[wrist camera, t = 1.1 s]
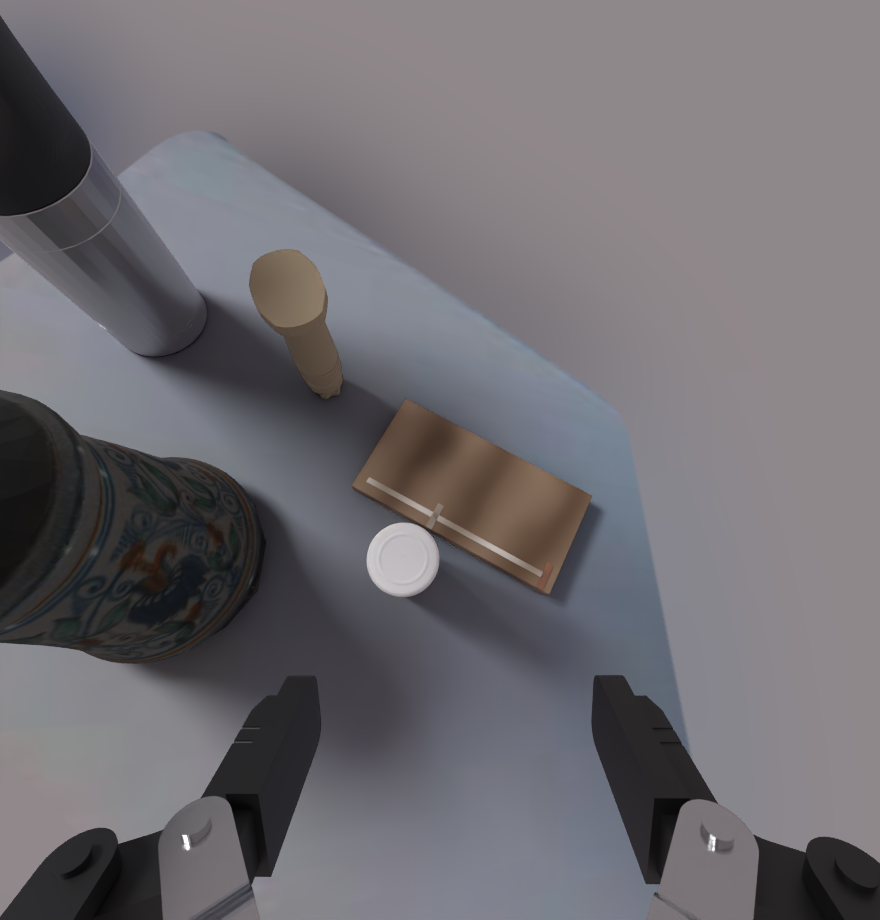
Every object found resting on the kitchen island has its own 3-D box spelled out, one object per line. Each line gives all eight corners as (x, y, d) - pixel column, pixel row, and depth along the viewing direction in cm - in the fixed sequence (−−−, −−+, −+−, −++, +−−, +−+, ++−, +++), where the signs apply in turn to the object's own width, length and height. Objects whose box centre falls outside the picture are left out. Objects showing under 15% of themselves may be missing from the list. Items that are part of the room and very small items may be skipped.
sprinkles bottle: (441, 572, 40) (455, 562, 27) (403, 606, 38) (398, 614, 26) (409, 533, 40) (407, 506, 28) (370, 566, 39) (350, 554, 26)
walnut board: (354, 489, 41) (351, 485, 39) (406, 405, 44) (405, 398, 42) (543, 594, 39) (549, 594, 38) (584, 499, 42) (592, 495, 40)
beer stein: (218, 685, 36) (-172, 872, 12) (5, 606, 37) (-757, 634, 13) (300, 500, 41) (141, 370, 17) (111, 433, 42) (-297, 219, 18)
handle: (340, 352, 45) (307, 242, 31) (361, 405, 44) (335, 314, 30) (295, 366, 45) (239, 260, 30) (314, 421, 43) (265, 335, 29)
